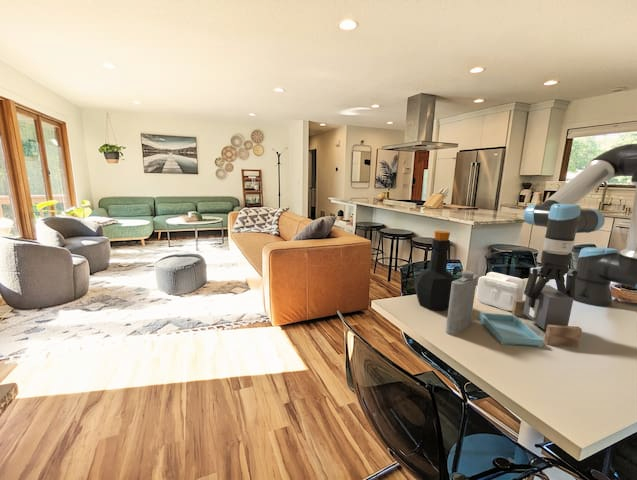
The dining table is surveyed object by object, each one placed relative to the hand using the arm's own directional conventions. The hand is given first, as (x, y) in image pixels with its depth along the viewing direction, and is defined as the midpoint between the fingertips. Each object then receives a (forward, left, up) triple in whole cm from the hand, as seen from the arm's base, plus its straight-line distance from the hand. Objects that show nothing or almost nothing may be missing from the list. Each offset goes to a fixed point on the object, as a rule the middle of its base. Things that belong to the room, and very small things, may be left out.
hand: (544, 316), depth 102 cm
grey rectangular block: (0, 0, -2) cm, 2 cm away
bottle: (+32, -15, -5) cm, 36 cm away
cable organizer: (+5, -20, -5) cm, 21 cm away
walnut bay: (0, 0, -5) cm, 5 cm away
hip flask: (+28, +3, -5) cm, 29 cm away
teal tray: (+13, +4, -5) cm, 15 cm away
